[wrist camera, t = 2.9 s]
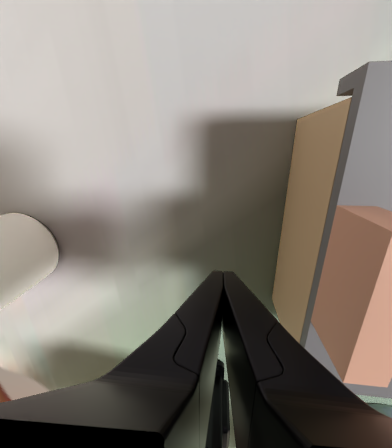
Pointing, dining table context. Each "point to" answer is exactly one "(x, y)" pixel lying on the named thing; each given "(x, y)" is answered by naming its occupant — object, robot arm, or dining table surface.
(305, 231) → the base
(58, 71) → the dining table surface
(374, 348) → the lid
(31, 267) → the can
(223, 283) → the robot arm
